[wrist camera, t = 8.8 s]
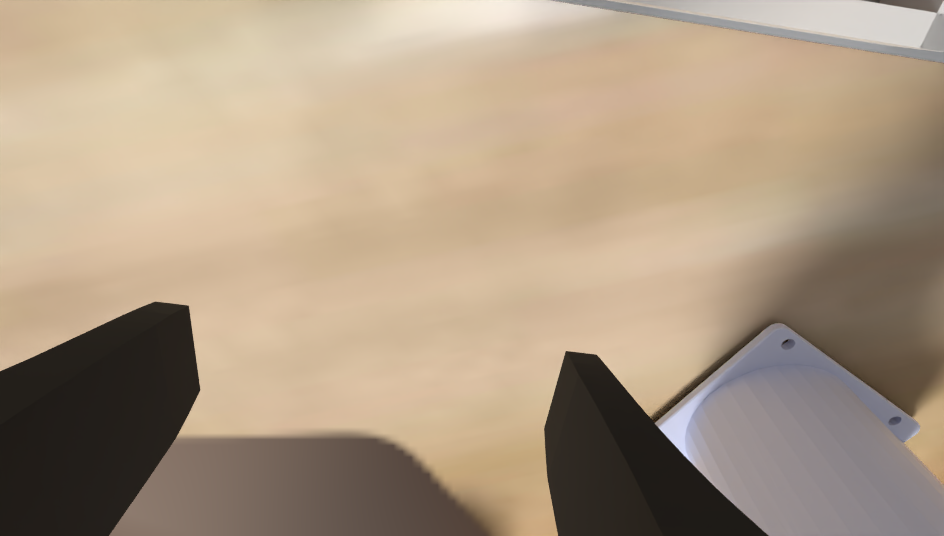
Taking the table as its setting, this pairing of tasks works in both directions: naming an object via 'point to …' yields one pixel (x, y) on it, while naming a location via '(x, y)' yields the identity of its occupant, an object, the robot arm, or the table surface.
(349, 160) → the table surface
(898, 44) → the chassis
